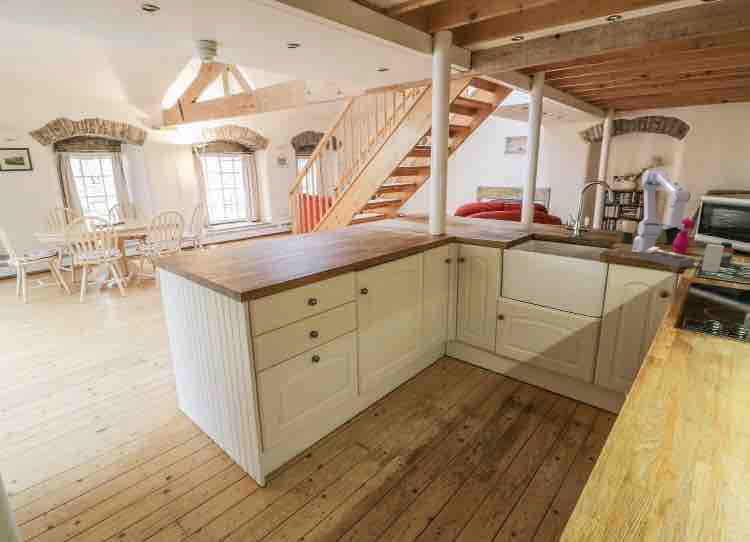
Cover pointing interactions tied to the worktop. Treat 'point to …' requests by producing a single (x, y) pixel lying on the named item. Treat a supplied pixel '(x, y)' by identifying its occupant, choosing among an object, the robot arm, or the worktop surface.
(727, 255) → the supplement bottle
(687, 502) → the worktop surface
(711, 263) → the skincare box
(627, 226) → the character mug
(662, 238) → the plant pot
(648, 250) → the left rocker
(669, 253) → the right rocker
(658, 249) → the middle rocker
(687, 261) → the power strip
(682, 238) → the pepper mill
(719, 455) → the worktop surface
